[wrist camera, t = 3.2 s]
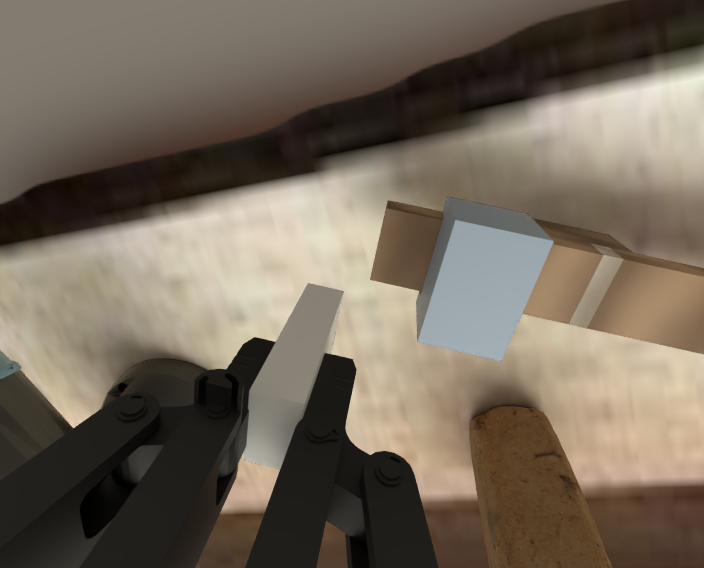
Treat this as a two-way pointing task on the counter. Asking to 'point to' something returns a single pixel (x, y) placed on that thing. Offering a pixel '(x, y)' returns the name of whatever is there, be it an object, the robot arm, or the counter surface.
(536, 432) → the block
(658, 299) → the beam
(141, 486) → the robot arm
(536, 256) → the rider
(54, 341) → the counter surface
